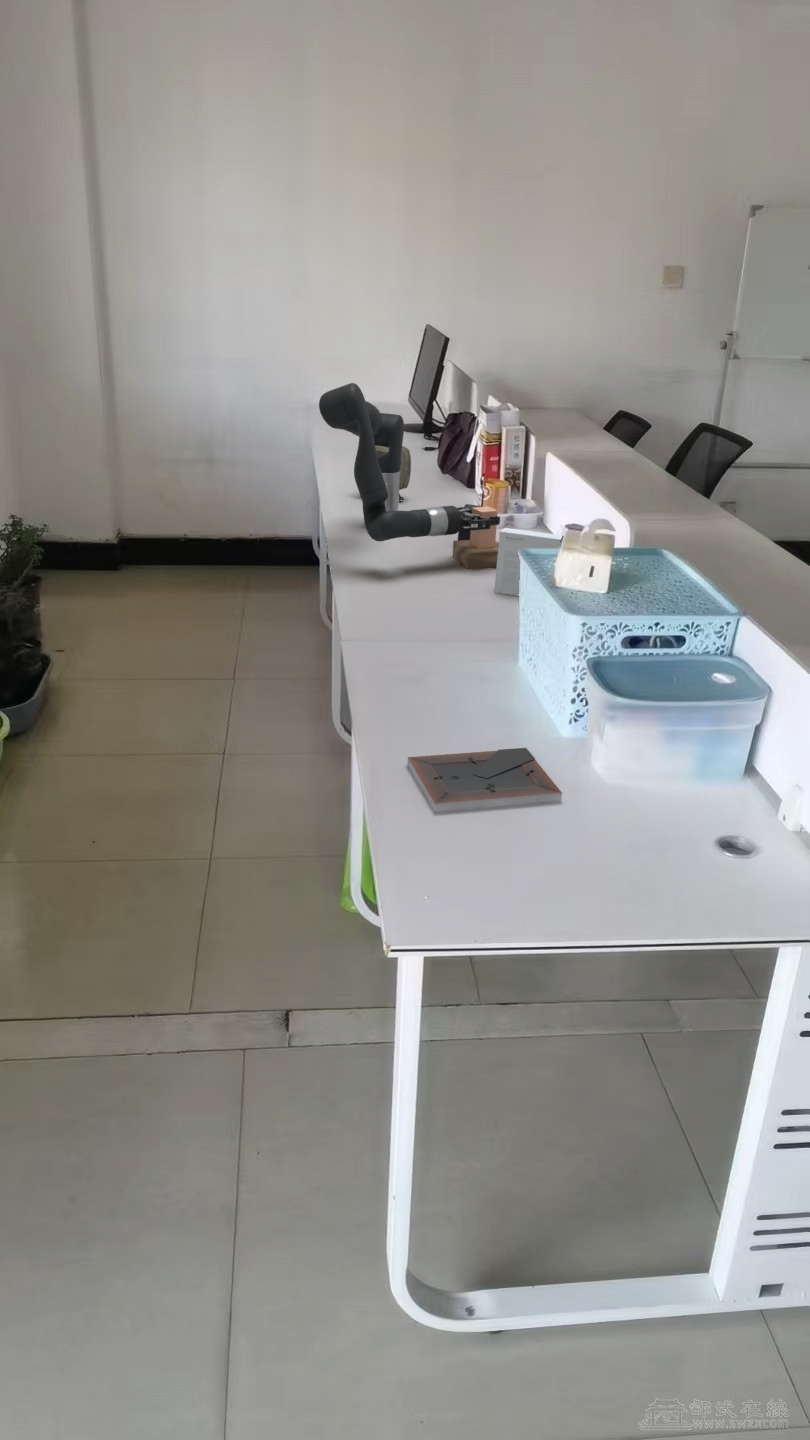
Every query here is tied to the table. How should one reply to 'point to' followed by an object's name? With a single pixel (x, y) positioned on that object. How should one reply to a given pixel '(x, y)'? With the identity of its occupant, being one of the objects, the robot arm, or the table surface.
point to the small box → (465, 532)
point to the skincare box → (509, 555)
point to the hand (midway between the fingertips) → (490, 516)
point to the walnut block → (475, 555)
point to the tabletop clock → (404, 467)
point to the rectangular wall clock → (482, 779)
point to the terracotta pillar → (487, 535)
